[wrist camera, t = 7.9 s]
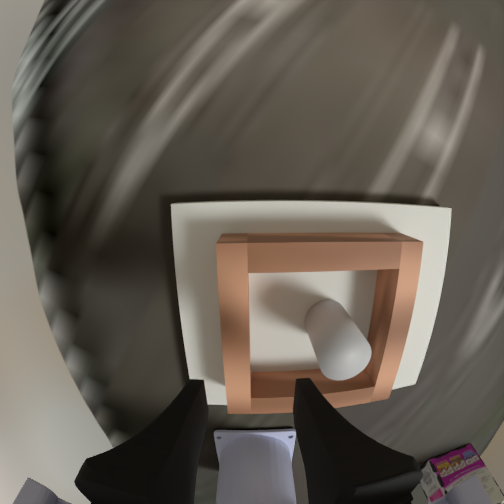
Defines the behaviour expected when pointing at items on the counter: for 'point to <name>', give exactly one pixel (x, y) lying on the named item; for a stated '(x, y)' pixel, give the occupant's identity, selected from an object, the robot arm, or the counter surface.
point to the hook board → (301, 288)
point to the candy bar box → (457, 474)
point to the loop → (315, 260)
